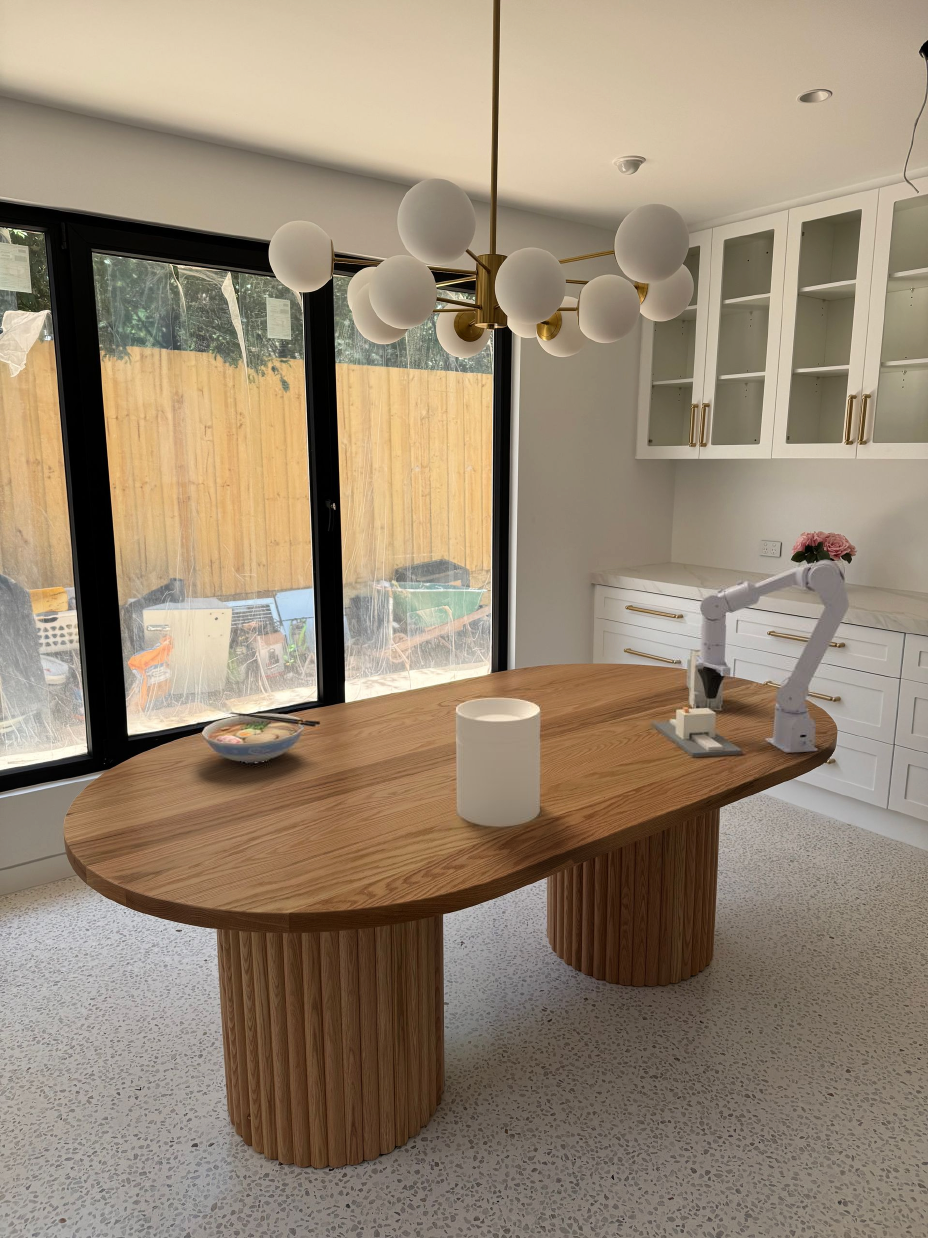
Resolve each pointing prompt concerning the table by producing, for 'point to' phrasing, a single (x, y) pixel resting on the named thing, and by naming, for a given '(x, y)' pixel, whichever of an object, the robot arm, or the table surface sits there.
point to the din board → (697, 742)
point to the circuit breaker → (700, 687)
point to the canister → (498, 761)
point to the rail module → (695, 722)
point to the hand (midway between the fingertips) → (710, 698)
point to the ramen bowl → (255, 736)
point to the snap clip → (696, 733)
